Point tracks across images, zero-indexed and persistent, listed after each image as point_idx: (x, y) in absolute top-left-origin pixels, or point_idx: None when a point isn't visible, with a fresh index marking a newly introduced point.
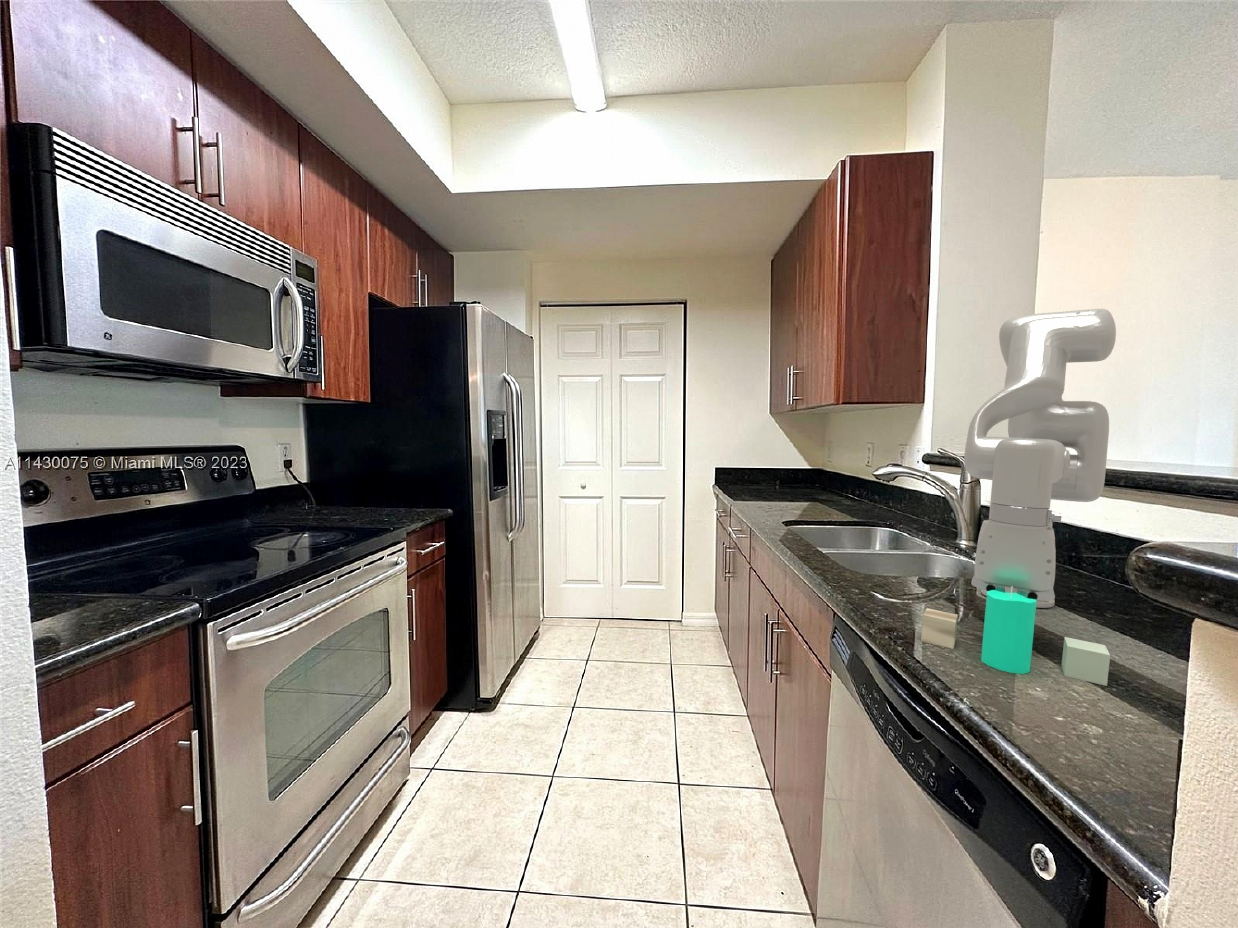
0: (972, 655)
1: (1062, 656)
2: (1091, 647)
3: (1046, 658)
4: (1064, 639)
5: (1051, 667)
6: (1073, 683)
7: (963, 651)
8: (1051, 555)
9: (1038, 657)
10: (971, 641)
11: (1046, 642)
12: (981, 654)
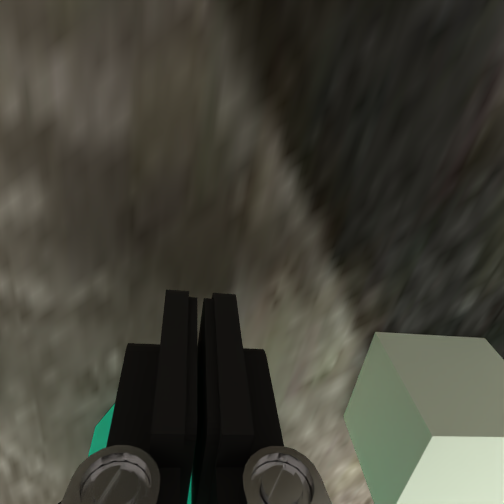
0: (65, 428)
1: (389, 360)
2: (481, 492)
3: (342, 294)
4: (421, 439)
5: (326, 375)
6: (346, 453)
7: (29, 412)
8: None
9: (312, 302)
10: (40, 276)
11: (449, 11)
12: (93, 437)
